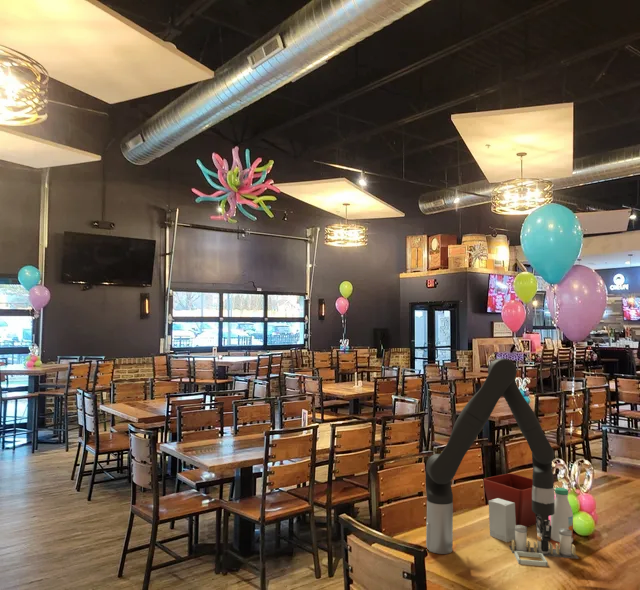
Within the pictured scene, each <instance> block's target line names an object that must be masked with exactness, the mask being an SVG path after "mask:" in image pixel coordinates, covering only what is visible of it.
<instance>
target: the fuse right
mask: <svg viewBox="0 0 640 590" xmlns="http://www.w3.org/2000/svg"><path fill="white" fill-rule="evenodd" d="M559 534H560V542H559V553H560V554H561V555H564V556H571V555H572V542H571V535H572V531H571V530H569V529H564V528H561V529H559Z"/></svg>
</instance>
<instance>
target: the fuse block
mask: <svg viewBox="0 0 640 590" xmlns="http://www.w3.org/2000/svg"><path fill="white" fill-rule="evenodd" d="M552 543H553V542H549V554H543V555H544V557H553V558H564V559H577V560H579V559H580V558H579V556H578V555H577V554H576V545H574V544H573V543H571V551H572V555H571V556H564V555H561V554H560V553H559V549H560V544H558V543H559V542H556V543H555V548H554V545H553V544H552ZM508 546H509V548H510V551H511V554H514V551H516V550H515V540H512V541H511V545H508ZM527 552H534V553H538V552H537V541H536V540H534V541H533V546H531V542H530V540H527Z"/></svg>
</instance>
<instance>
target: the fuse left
mask: <svg viewBox="0 0 640 590" xmlns="http://www.w3.org/2000/svg"><path fill="white" fill-rule="evenodd" d="M527 533H528V527H525V526H522V525H516V526H515V540H514V546H515V550H516V551H522V552H527V541H528V540H527V539H528V538H527V536H528V535H527Z"/></svg>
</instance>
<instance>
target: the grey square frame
mask: <svg viewBox="0 0 640 590" xmlns="http://www.w3.org/2000/svg"><path fill="white" fill-rule="evenodd" d="M513 554H514V557H515V559H516V561H517V563H518V565H526V566H537V567H538V566H539V567H548V566H549V563H548V560H547V559H546V556H544V555H543V554H542V553H534V552H522V551H514V553H513ZM520 557H527V558H529V557H531V558H540V559H541V560H532V559H522V558H521V559H520Z"/></svg>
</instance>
